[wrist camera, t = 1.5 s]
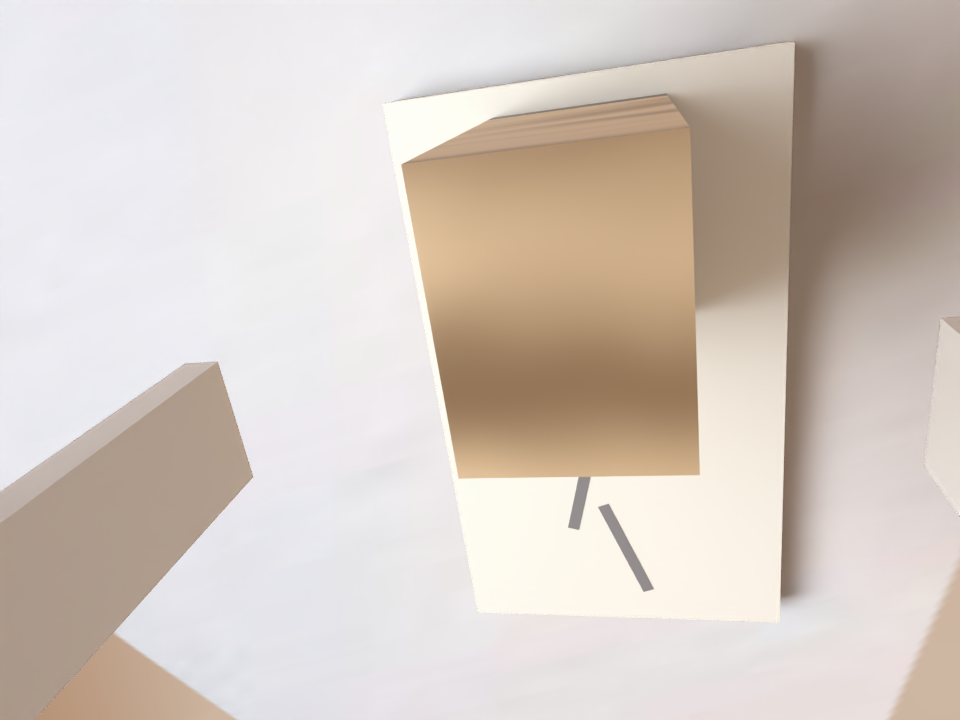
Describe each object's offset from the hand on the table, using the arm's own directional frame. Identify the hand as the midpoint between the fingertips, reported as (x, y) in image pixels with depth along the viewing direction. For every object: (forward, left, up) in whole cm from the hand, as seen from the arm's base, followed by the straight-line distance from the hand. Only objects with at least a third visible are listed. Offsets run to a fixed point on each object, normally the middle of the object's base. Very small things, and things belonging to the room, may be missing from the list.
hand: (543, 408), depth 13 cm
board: (+7, 0, -16) cm, 17 cm away
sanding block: (0, 0, -14) cm, 14 cm away
